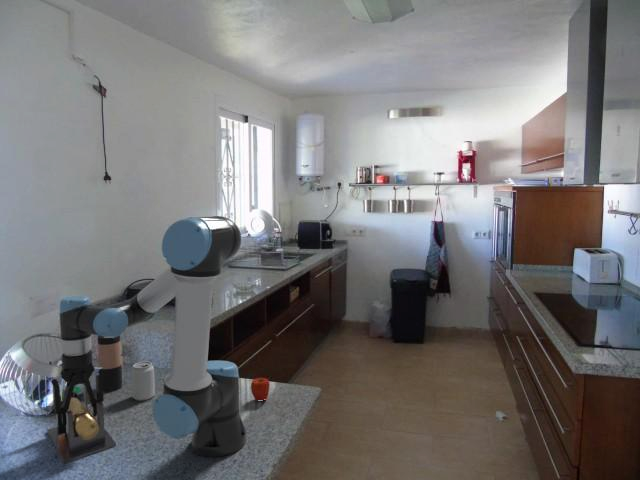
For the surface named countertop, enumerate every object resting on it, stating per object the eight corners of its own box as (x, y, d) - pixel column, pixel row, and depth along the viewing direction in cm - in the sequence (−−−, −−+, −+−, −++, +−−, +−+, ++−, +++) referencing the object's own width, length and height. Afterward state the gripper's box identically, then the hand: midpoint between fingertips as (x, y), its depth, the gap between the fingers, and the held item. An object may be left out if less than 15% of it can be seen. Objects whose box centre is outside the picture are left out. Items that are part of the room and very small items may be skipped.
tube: (97, 438, 123) (100, 419, 123) (77, 441, 120) (80, 422, 120) (78, 413, 138) (81, 396, 138) (60, 415, 135) (63, 398, 135)
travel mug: (101, 385, 170) (99, 333, 168) (124, 382, 172) (121, 331, 170) (98, 393, 162) (95, 339, 161) (121, 390, 165) (118, 337, 163)
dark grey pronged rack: (116, 445, 127) (114, 405, 126) (64, 463, 119) (61, 420, 118) (94, 418, 144) (92, 382, 143) (47, 432, 135) (44, 394, 134)
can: (147, 402, 155) (145, 368, 154) (127, 401, 156) (126, 367, 155) (159, 393, 162) (157, 360, 161) (140, 391, 163) (138, 359, 162)
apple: (248, 402, 154) (247, 381, 153) (256, 395, 159) (255, 374, 159) (265, 405, 152) (264, 383, 151) (272, 397, 157) (272, 376, 157)
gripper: (106, 341, 136) (109, 416, 138) (37, 355, 124) (41, 436, 126) (114, 348, 130) (117, 425, 132) (42, 362, 118) (46, 447, 120)
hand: (80, 430), depth 129 cm, fingers closed on tube, 5 cm apart
